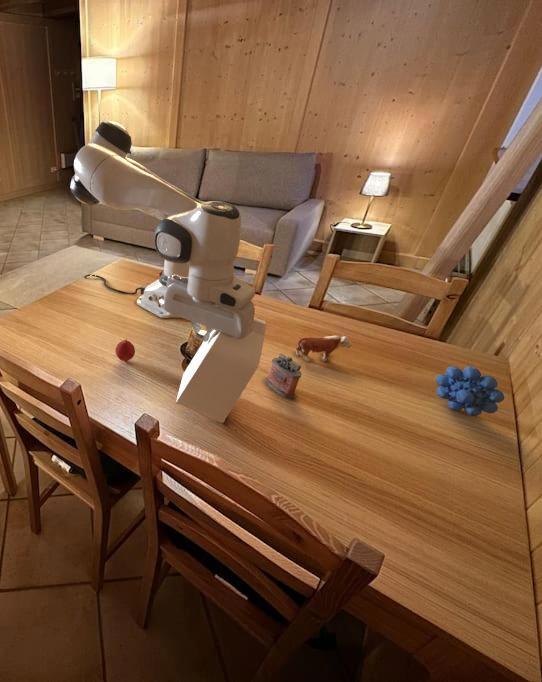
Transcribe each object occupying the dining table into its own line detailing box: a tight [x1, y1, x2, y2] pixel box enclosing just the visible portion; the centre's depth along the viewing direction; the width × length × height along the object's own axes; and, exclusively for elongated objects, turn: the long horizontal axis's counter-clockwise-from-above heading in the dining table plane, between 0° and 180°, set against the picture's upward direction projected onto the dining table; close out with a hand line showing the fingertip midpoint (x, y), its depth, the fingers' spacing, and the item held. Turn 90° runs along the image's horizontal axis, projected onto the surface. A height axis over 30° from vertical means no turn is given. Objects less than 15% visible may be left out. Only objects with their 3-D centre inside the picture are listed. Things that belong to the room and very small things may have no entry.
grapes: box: [434, 365, 505, 417], centre depth 82 cm, size 12×7×12 cm, turn 40°
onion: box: [115, 338, 136, 362], centre depth 107 cm, size 6×6×8 cm
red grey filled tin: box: [265, 353, 303, 399], centre depth 92 cm, size 8×3×10 cm, turn 23°
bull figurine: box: [295, 334, 353, 362], centre depth 102 cm, size 4×13×8 cm, turn 79°
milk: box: [175, 316, 267, 424], centre depth 83 cm, size 12×12×26 cm
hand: (201, 338), depth 83 cm, fingers closed
